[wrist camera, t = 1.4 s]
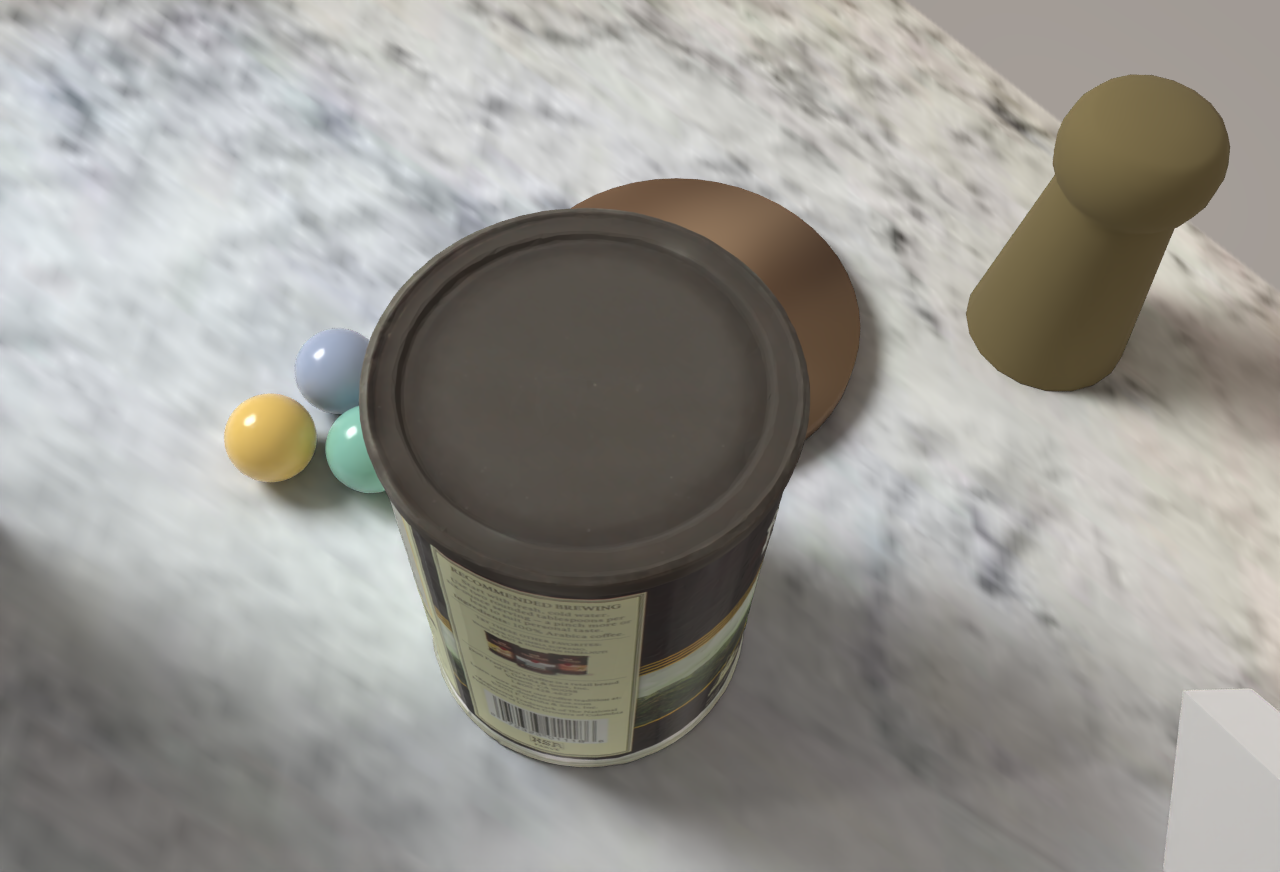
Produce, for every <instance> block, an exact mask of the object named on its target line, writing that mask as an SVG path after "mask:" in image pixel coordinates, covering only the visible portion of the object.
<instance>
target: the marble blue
mask: <svg viewBox="0 0 1280 872" xmlns="http://www.w3.org/2000/svg"><path fill="white" fill-rule="evenodd" d="M368 344H369V340H368V339H367V338H366V337H364V336H363V335H361V334H359V333H358V332H355V331H353V330H349V329H343V328H332V329H327V330H324V331H321V332H319V333H317V334H315V335H313V336H312V337H311V338H310V339H308V340H307V341H306V342H305V343H304V345H303V346H302V347H301V349H300V351H299V353H298V355H297V358H296V362H295V370H294V371H295V380H296V383H297V386H298V388H299V390H300V392H301V394H302V395H303V397H304V398H305V399H306V400H307V401H308V402H309V403H310V404H311V405H313V406H314V407H316V408H318V409H319V410H322V411H324V412H328V413H333V414H343V413H344V412H346V411H348V410H349V409H351V408H354V407H357V406H359V382H360V376H361V370H362V365H363V361H364V357H365V353H366V349H367V346H368Z"/></svg>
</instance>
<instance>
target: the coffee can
mask: <svg viewBox="0 0 1280 872" xmlns="http://www.w3.org/2000/svg"><path fill="white" fill-rule="evenodd" d="M359 414H360V424H361V429H362V434H363V439H364V443H365V446H366V450H367V453H368V455H369V458H370V460H371V463H372V465H373V467H374V470H375V472H376V475H377V477H378V479H379V481H380V482H381V484H382V486H383V488H384V489H385V491H386V493H387V495H388V497H389V499H390V502H391V505H392V508H393V511H394V515H395V518H396V521H397V524H398V528H399V531H400V534H401V537H402V540H403V543H404V546H405V549H406V552H407V556H408V559H409V562H410V566H411V569H412V572H413V575H414V579H415V582H416V585H417V588H418V591H419V594H420V597H421V599H422V602H423V605H424V609H425V612H426V616H427V619H428V622H429V625H430V628H431V631H432V634H433V644H434V650H435V654H436V657H437V660H438V663H439V666H440V669H441V673H442V676H443V678H444V680H445V682H446V684H447V686H448V688H449V690H450V691H451V693H452V695H453V697H454V698H455V700H456V701H457V703H458V704H459V705H460V707H461V708H462V709H463V710H464V712H465V713H466V714H467V715H468V716H469V717H470V718H471V719H472V720H473V721H474V722H475V723H476V724H477V725H478V726H479V727H480V728H481V729H482V730H483V731H484V732H486V733H487V734H488V735H489V736H491V737H493V738H494V739H496V740H497V741H498V742H499V743H500V744H501V745H504V746H506V747H508V748H510V749H512V750H515V751H517V752H519V753H521V754H524V755H526V756H528V757H531V758H534V759H538V760H541V761H545V762H548V763H553V764H557V765H565V766H574V767H600V766H609V765H615V764H625V763H628V762H631V761H635V760H638V759H640V758H642V757H645V756H647V755H650V754H653V753H655V752H657V751H659V750H661V749H664V748H665V747H667V746H668V745H670V744H672V743H674V742H675V741H677V740H678V739H680V738H681V737H683V736H684V735H685V734H687V733H688V732H689V731H690V730H692V729H693V728H694V727H695V726H696V725H697V724H698V723H699V722H700V721H701V720H702V719H703V718H704V717H705V716H706V715H707V714H708V713H709V712H710V710H711V709H712V708H713V707H714V705H715V704H716V703H717V701H718V700H719V699H720V697H721V696H722V695H723V693H724V692H725V690H726V688H727V686H728V684H729V682H730V680H731V678H732V675H733V673H734V670H735V668H736V665H737V662H738V659H739V655H740V651H741V646H742V641H743V632H744V629H745V626H746V622H747V616H748V613H749V610H750V606H751V602H752V598H753V594H754V591H755V587H756V583H757V580H758V576H759V573H760V569H761V566H762V562H763V558H764V555H765V552H766V548H767V545H768V542H769V539H770V536H771V533H772V531H773V526H774V523H775V520H776V516H777V512H778V509H779V504H780V501H781V498H782V494H783V491H784V489H785V487H786V486H787V484H788V482H789V480H790V478H791V476H792V474H793V471H794V469H795V466H796V464H797V462H798V459H799V457H800V454H801V451H802V448H803V444H804V441H805V437H806V433H807V428H808V423H809V415H810V382H809V375H808V371H807V364H806V360H805V357H804V353H803V350H802V347H801V344H800V341H799V339H798V336H797V333H796V330H795V328H794V327H793V325H792V323H791V321H790V319H789V317H788V315H787V313H786V311H785V309H784V308H783V306H782V305H781V303H780V302H779V301H778V299H777V298H776V296H775V295H774V294H773V293H772V292H771V290H770V289H769V288H768V287H767V285H766V284H765V283H764V282H763V281H762V280H761V279H760V278H759V276H758V275H757V274H756V273H754V272H753V271H752V270H751V269H750V268H749V267H748V266H747V265H746V264H744V263H743V262H742V261H741V260H739V259H738V258H737V257H735V256H734V255H732V254H731V253H730V252H728V251H726V250H725V249H723V248H722V247H721V246H719V245H718V244H716V243H714V242H713V241H711V240H710V239H708V238H706V237H705V236H702V235H700V234H698V233H696V232H693V231H691V230H689V229H687V228H684V227H682V226H679V225H677V224H674V223H671V222H667V221H664V220H661V219H659V218H655V217H651V216H647V215H643V214H639V213H635V212H628V211H621V210H613V209H599V208H576V209H560V210H549V211H542V212H537V213H533V214H528V215H523V216H519V217H515V218H512V219H509V220H505V221H502V222H499V223H496V224H494V225H491V226H489V227H486V228H484V229H481V230H479V231H476V232H474V233H472V234H470V235H468V236H466V237H464V238H463V239H461V240H459V241H457V242H456V243H454V244H452V245H451V246H449V247H448V248H446V249H445V250H443V251H442V252H440V253H439V254H437V255H436V256H434V257H433V258H432V259H431V260H429V261H428V262H427V263H426V264H425V265H424V266H423V267H422V268H420V269H419V270H418V271H417V272H416V273H414V274H413V276H412V277H411V278H410V279H409V280H408V281H407V282H406V283H405V284H404V285H403V286H402V287H401V288H400V290H399V291H398V292H397V293H396V295H395V296H394V297H393V299H392V300H391V302H390V303H389V305H388V306H387V308H386V310H385V311H384V313H383V314H382V316H381V317H380V319H379V321H378V323H377V325H376V327H375V329H374V331H373V333H372V336H371V338H370V341H369V344H368V346H367V349H366V353H365V357H364V361H363V365H362V370H361V376H360V382H359Z"/></svg>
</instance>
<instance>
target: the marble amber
mask: <svg viewBox="0 0 1280 872" xmlns="http://www.w3.org/2000/svg"><path fill="white" fill-rule="evenodd" d="M224 443H225V449H226V452H227V454H228V457H229V459H230V460H231V462H232V463H233V465H234V466H235V467H236V468H237V469H238V470H239V471H240V472H241V473H243V474H244V475H246V476H247V477H250V478H252V479H254V480H257V481H262V482H279V481H284V480H287V479H289V478H292V477H293V476H295V475H297V474H298V473H300V472H301V471H302V470H303V469H304V468H305V467H306V466H307V465H308V463H309V462H310V460H311V459H312V457H313V455H314V452H315V449H316V444H317V432H316V427H315V424H314V421H313V419H312V417H311V415H310V414H309V412H308V411H307V410H306V409H305V408H304V407H303V406H302V405H301V404H300V403H298V402H297V401H295V400H294V399H292V398H290V397H287V396H284V395H280V394H261V395H257V396H254V397H251V398H249V399H247V400H246V401H244V402H243V403H241V404H240V405H239V406H238V407H237V408H236V409H235V410H234V411H233V412H232V414H231V416H230V417H229V419H228V421H227V424H226V427H225V432H224Z"/></svg>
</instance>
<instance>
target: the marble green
mask: <svg viewBox="0 0 1280 872" xmlns="http://www.w3.org/2000/svg"><path fill="white" fill-rule="evenodd" d="M325 452H326V458H327V462H328V465H329V467H330V469H331V471H332V472H333V474H334V475H335V477H336V478H337V479H338V480H339V481H340V482H341V483H343V484H344V485H346V486H347V487H349V488H351V489H353V490H355V491H359V492H364V493H378V492H383V491H385V489H384V488H383V486H382V484H381V482H380V481H379V479H378V477H377V475H376V472H375V470H374V467H373V465H372V463H371V460H370V458H369V455H368V453H367V450H366V446H365V443H364V439H363V434H362V429H361V424H360V414H359V406H357V407H354V408H351V409H349V410H348V411H346V412H344V413H343V414H342V415H341V416H339V417H338V419H337V420H336V421H335V422H334V423H333V425H332V426H331V428H330V430H329V433H328V436H327V439H326V448H325Z"/></svg>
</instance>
